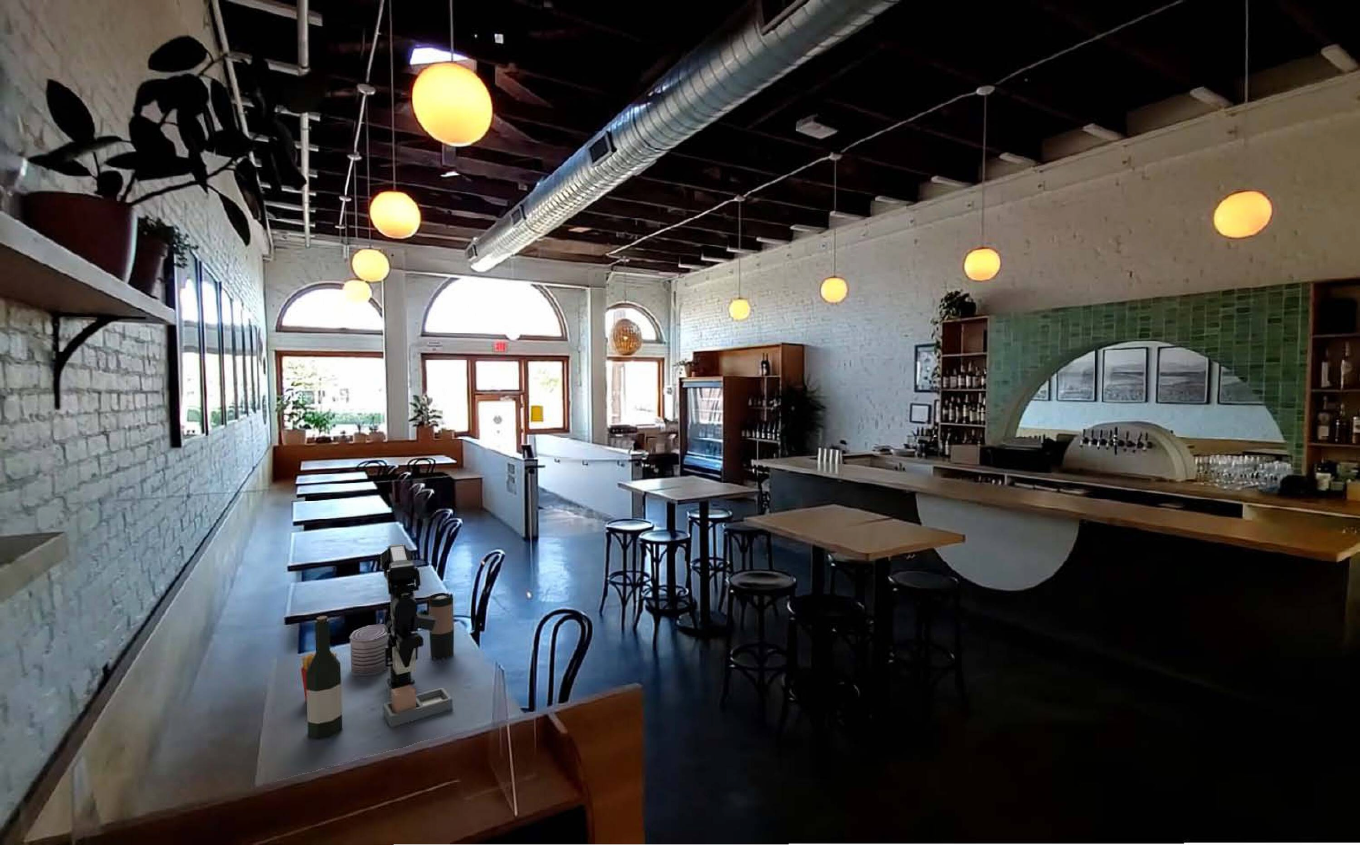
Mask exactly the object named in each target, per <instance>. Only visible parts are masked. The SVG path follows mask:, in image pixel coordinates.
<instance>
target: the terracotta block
mask: <svg viewBox="0 0 1360 845" xmlns="http://www.w3.org/2000/svg"><path fill="white" fill-rule="evenodd" d="M416 695H417V693H416V690H415V688H413V686H412V685H411V684H406V685H402V686H399V687H395V688H392V689H390V698H391V701H390V702H391V703H392V712H393V714H396V713H400V712H403V711H407V710H410V709H414V708H416Z"/></svg>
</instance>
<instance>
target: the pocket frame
mask: <svg viewBox="0 0 1360 845" xmlns="http://www.w3.org/2000/svg"><path fill="white" fill-rule="evenodd" d="M453 701H454V700H453V697H451V695H450V694H449V693H448V692H447V690H446V689H445V688H444V687H439V688H435V689H432V690H428V691H425V692H421V693H416V708H414V709H410V710H407V711H403V712H400V713H396V714H393V712H392V703H391V701H388V702H385V703H383V704H382V710H383V711H382V714H383V716H385V717H384V718H385V720H386V722H387V721H388V722H387V724H388V725H389V724H390V725H389V727H390V726H391V727H392V728H395V727H398V726H401V725H400V724H402V725H404V723H405V724H407V722H408V723H411V722H410V721H412V720H415V721H417V720H416V719H418V720H421V719H420V718H422V719H425V718H427V716H428V717H431V716H430V715H432V716H434V715H433V714H435V715H438V714H441V713H444V711H445V712H448V711H451V710H453V708H454V707H453ZM447 710H448V711H447ZM424 717H425V718H424ZM412 722H413V721H412ZM397 725H398V726H397ZM394 726H395V727H394ZM391 727H390V728H391Z"/></svg>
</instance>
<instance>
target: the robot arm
mask: <svg viewBox="0 0 1360 845" xmlns="http://www.w3.org/2000/svg"><path fill="white" fill-rule="evenodd" d="M411 558H412V556H411V551H410V549H408V548H407V546H406V544H405V543H400V544H397V543H396V544H390V545H388V546H387V549H386V550H384V551H383V552H382V553H381V554H380V570H381V571H382V570H383V577H384V578H385V580H387V581H386V582H387V592H388V595H389V599H390V615H389V616H390V617H391V620H388V621H387V622H386V623H385V624H384V625H385V631H386V633H387V634H388V633H390V635H388V637H389V639H388V641H387V646H386V647H385V665H386V667H388V666H389V667H388V668H389V671H390V672H389V673H390V677H389V678H387V680H386V681H387V683H388V684H389V685H390V687H391V688H392V689H396V688H400V687H403V686H407V685H411V684H414V683H415V682H416V681H415V679H414V678H413V675H412V671H410V672H406V673H401V674H396V672H395V671H394V669H393V650H392V647H396V649H397V651H398V654H399V656H400V658H401V660H402V662H403V665H404V667H405V668H406V667H409V665H410V661H411V657H412V653H413V650H414V649H416V661H417V660H418V656H419V655H418V654H419V653H418V652H419V648H420V647H421V648H422V647H423V646H425V645H424V638H423V637H422V635H421V634H419V633H418V631H419V630H425V631H426V630H427V631H433V629H434V626H435V623H436V619H435V618H434V617H433V616H431V615H429V610H427V609H421V610H420V611H419V612H418V609H419V608H418V603H417V601H416V599H415V593H414V592H416V591H420V588H419V587H421V583H422V582H421V578H420V577H421V575H420V570H419V569H418V567H417V566H415V563H414V561H412V559H411ZM388 658H390V659H388Z"/></svg>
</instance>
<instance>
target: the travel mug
mask: <svg viewBox="0 0 1360 845" xmlns="http://www.w3.org/2000/svg"><path fill="white" fill-rule="evenodd" d="M428 614H429V615H431V616H433V617H434V618H435V619H436V623H435V626H434V629H433V631H429V630H428V631H429V632H428V633H429V648H430V649H429V650H430V658H431V657H432V658H435V659H434V660H436V659H441V660H443V659H442V658H446V659H448V658H447V657H449V658H451V657H453V656H454V652H455V651H454V650H455V649H454V648H455V638H454V637H455V623H454V622H455V619H454V618H455V617H454V595H453V593H450V594H447V593H446V592H438V593H433V594H431V595H430V596H428ZM450 656H451V657H450ZM432 658H431V659H432Z"/></svg>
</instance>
